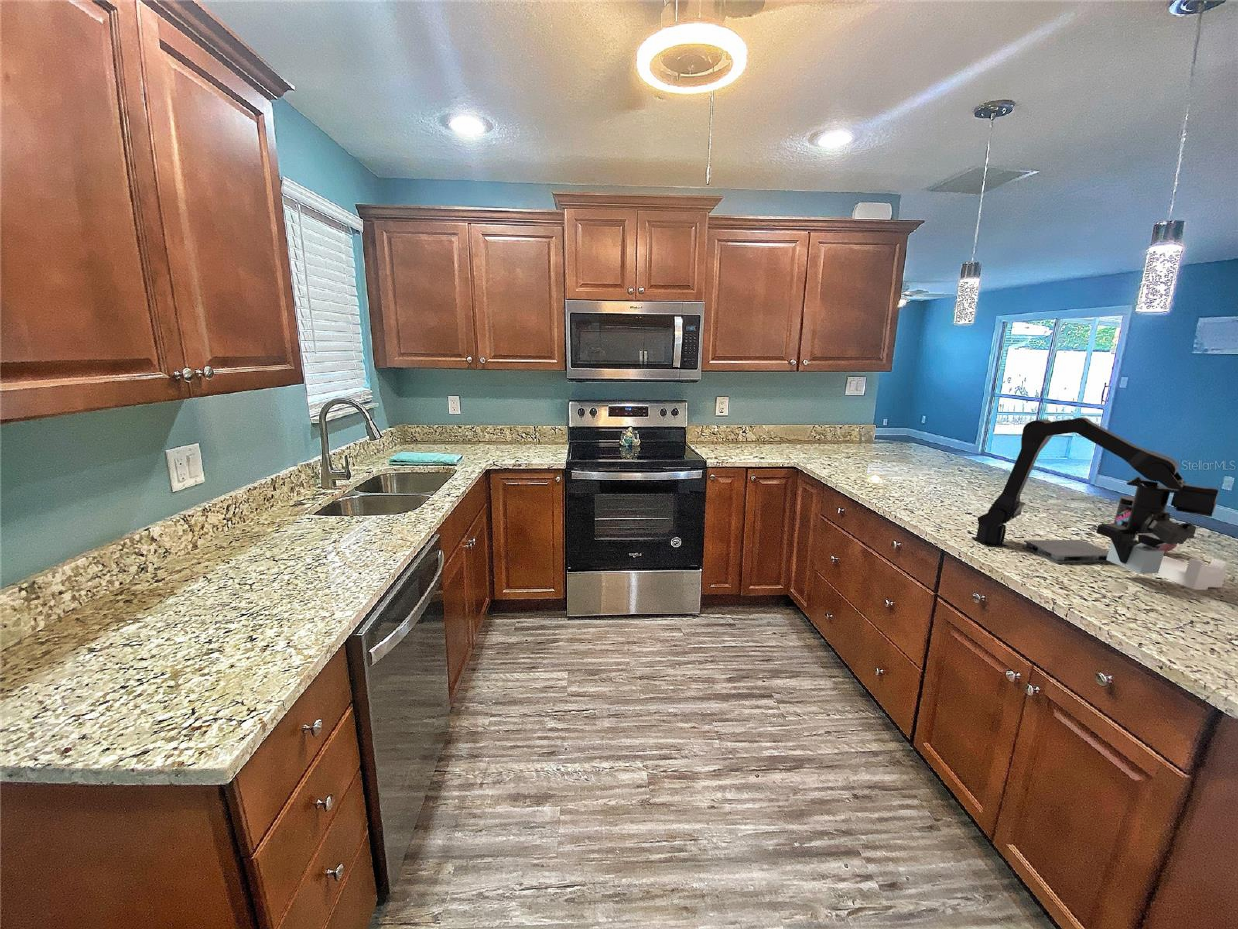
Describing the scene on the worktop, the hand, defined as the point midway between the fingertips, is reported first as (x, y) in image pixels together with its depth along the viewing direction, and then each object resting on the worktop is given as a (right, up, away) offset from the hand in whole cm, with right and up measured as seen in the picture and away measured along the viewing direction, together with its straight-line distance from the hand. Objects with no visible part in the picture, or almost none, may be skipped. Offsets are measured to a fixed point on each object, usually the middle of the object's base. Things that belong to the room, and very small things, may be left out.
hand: (1132, 562), depth 124 cm
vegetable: (+28, -1, +19) cm, 34 cm away
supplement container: (+41, +3, +40) cm, 58 cm away
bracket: (+16, -5, +3) cm, 17 cm away
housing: (0, -1, 0) cm, 1 cm away
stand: (-1, -1, +17) cm, 17 cm away
